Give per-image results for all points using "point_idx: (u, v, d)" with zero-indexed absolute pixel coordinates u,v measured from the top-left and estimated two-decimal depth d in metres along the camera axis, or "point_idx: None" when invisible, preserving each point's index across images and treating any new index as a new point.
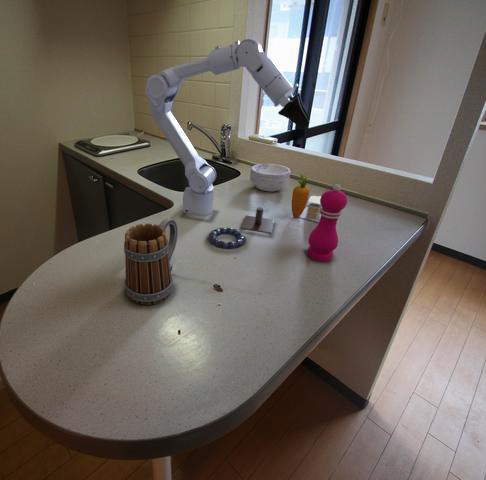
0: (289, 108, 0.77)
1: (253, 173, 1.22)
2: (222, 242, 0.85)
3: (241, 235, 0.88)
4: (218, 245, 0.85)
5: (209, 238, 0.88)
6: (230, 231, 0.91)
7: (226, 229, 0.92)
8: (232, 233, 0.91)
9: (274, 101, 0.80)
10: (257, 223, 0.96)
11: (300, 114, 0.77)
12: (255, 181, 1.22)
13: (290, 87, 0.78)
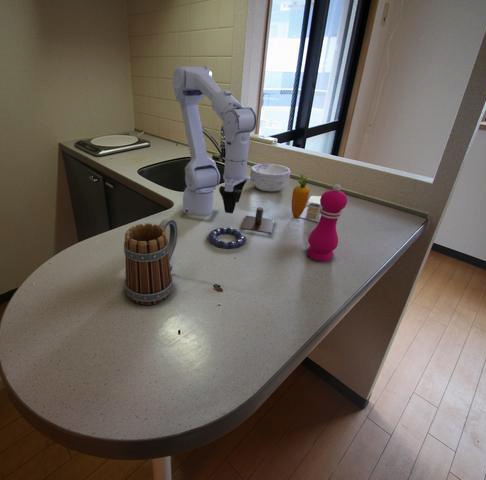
0: (229, 192, 0.82)
1: (253, 173, 1.22)
2: (222, 242, 0.85)
3: (241, 235, 0.88)
4: (218, 245, 0.85)
5: (209, 238, 0.88)
6: (230, 231, 0.91)
7: (226, 229, 0.92)
8: (232, 233, 0.91)
9: (225, 174, 0.83)
10: (257, 223, 0.96)
11: (232, 203, 0.83)
12: (255, 181, 1.22)
13: (243, 176, 0.82)
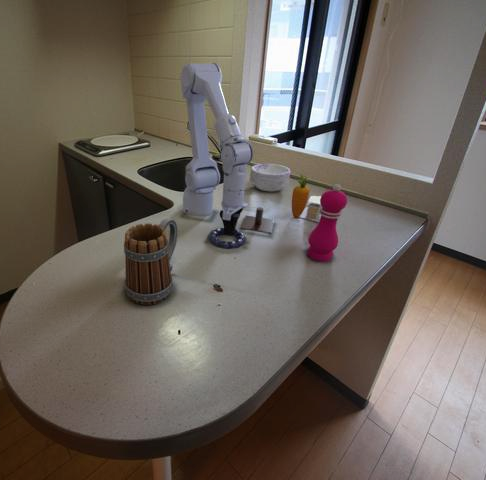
0: None
1: (253, 173, 1.22)
2: (222, 242, 0.85)
3: (241, 235, 0.89)
4: (218, 245, 0.85)
5: (209, 238, 0.88)
6: None
7: None
8: None
9: (223, 202, 0.87)
10: (257, 223, 0.96)
11: (231, 225, 0.89)
12: (255, 181, 1.22)
13: (240, 204, 0.86)
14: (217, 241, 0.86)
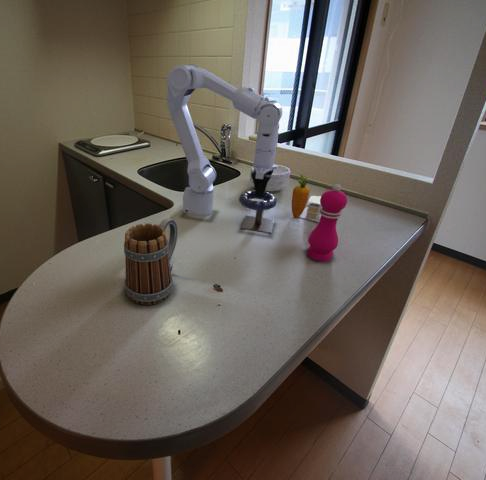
0: None
1: None
2: (254, 201, 0.88)
3: (272, 196, 0.91)
4: (250, 204, 0.88)
5: (241, 199, 0.91)
6: None
7: None
8: None
9: (255, 163, 0.89)
10: (257, 223, 0.96)
11: (262, 187, 0.91)
12: None
13: (272, 165, 0.88)
14: (249, 201, 0.88)
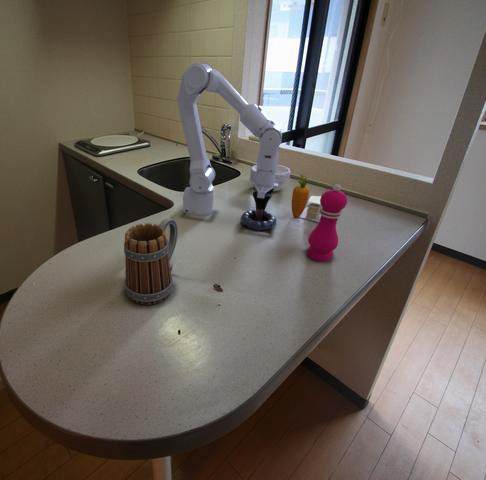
0: None
1: (253, 173, 1.22)
2: (255, 222, 0.92)
3: (272, 216, 0.96)
4: (251, 224, 0.92)
5: (242, 218, 0.95)
6: None
7: None
8: (263, 215, 0.98)
9: (256, 182, 0.93)
10: None
11: (263, 205, 0.95)
12: None
13: (272, 184, 0.92)
14: (250, 221, 0.93)
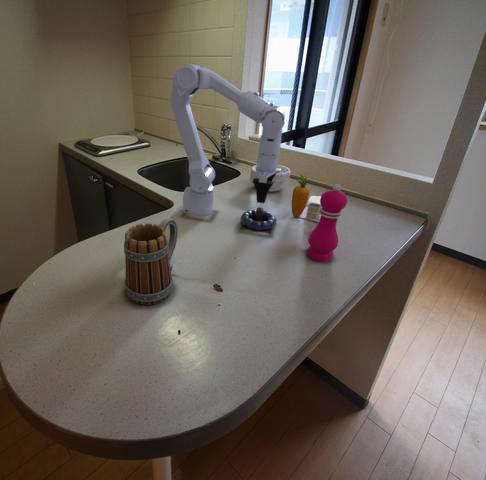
0: (262, 183, 0.90)
1: (253, 173, 1.22)
2: (255, 222, 0.92)
3: (272, 216, 0.96)
4: (251, 224, 0.92)
5: (242, 218, 0.95)
6: None
7: None
8: (263, 215, 0.98)
9: (258, 167, 0.91)
10: None
11: (264, 193, 0.91)
12: None
13: (274, 169, 0.90)
14: (250, 221, 0.93)
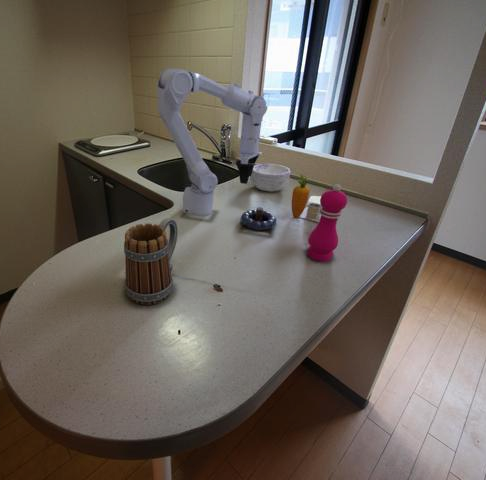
0: (244, 165, 0.98)
1: (253, 173, 1.22)
2: (255, 222, 0.92)
3: (272, 216, 0.96)
4: (251, 224, 0.92)
5: (242, 218, 0.95)
6: None
7: None
8: (263, 215, 0.98)
9: (240, 150, 0.99)
10: None
11: (246, 174, 1.00)
12: (255, 181, 1.22)
13: (255, 152, 0.98)
14: (250, 221, 0.93)
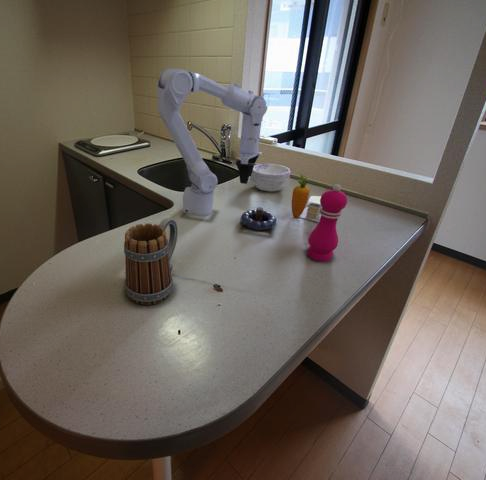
0: (244, 165, 0.98)
1: (253, 173, 1.22)
2: (255, 222, 0.92)
3: (272, 216, 0.96)
4: (251, 224, 0.92)
5: (242, 218, 0.95)
6: None
7: None
8: (263, 215, 0.98)
9: (240, 150, 0.99)
10: None
11: (246, 174, 1.00)
12: (255, 181, 1.22)
13: (255, 152, 0.98)
14: (250, 221, 0.93)
